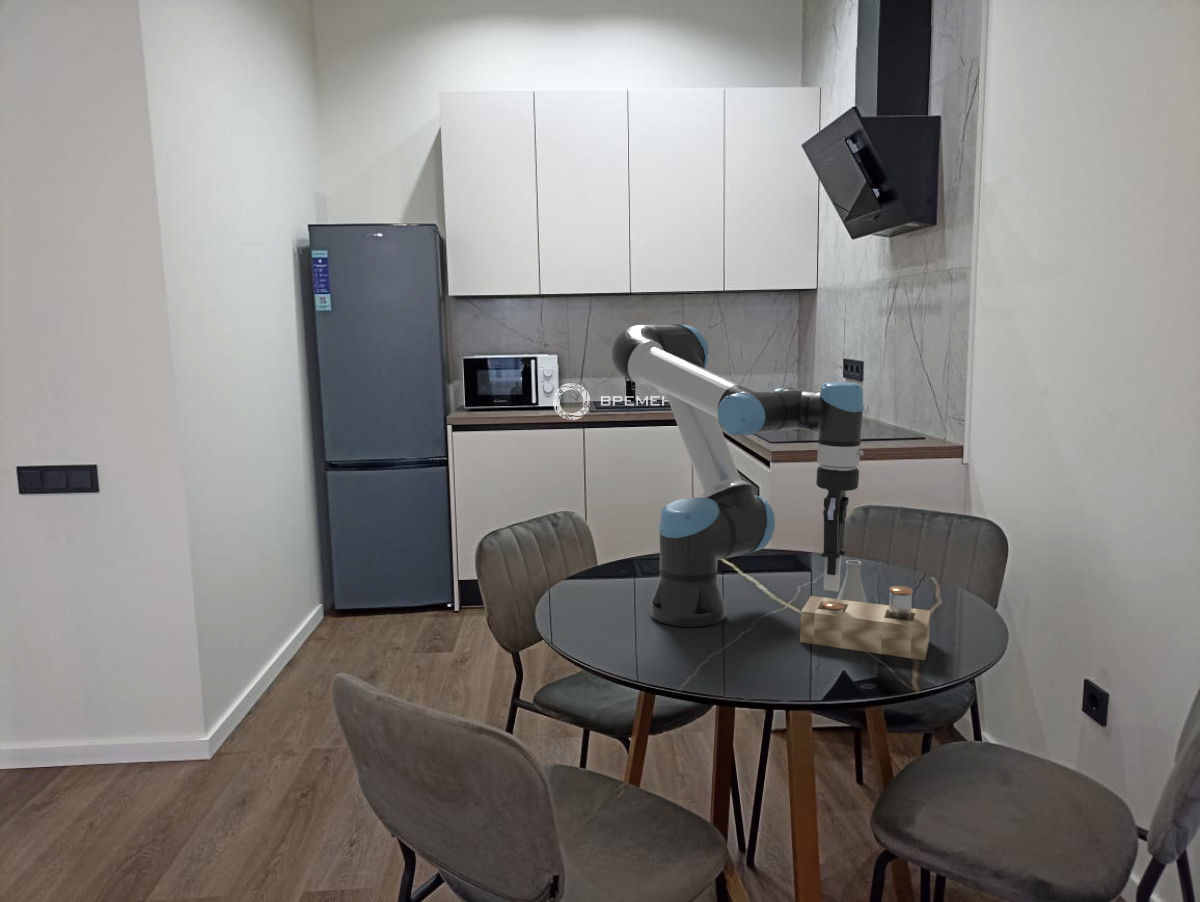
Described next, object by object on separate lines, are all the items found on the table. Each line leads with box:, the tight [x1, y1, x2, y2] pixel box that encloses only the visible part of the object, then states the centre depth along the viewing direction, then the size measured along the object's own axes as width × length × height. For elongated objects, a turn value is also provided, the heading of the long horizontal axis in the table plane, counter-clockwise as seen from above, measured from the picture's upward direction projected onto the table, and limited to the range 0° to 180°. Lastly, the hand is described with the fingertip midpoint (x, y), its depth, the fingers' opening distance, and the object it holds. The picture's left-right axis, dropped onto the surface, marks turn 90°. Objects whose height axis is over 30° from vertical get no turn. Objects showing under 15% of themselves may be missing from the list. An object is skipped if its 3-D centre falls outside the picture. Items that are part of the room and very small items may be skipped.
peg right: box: [888, 585, 914, 621], centre depth 159 cm, size 4×4×6 cm
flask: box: [836, 559, 869, 603], centre depth 181 cm, size 7×7×10 cm
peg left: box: [822, 601, 844, 612], centre depth 164 cm, size 4×4×6 cm
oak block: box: [799, 595, 932, 661], centre depth 162 cm, size 22×10×6 cm, turn 66°
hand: (831, 589), depth 164 cm, fingers closed
